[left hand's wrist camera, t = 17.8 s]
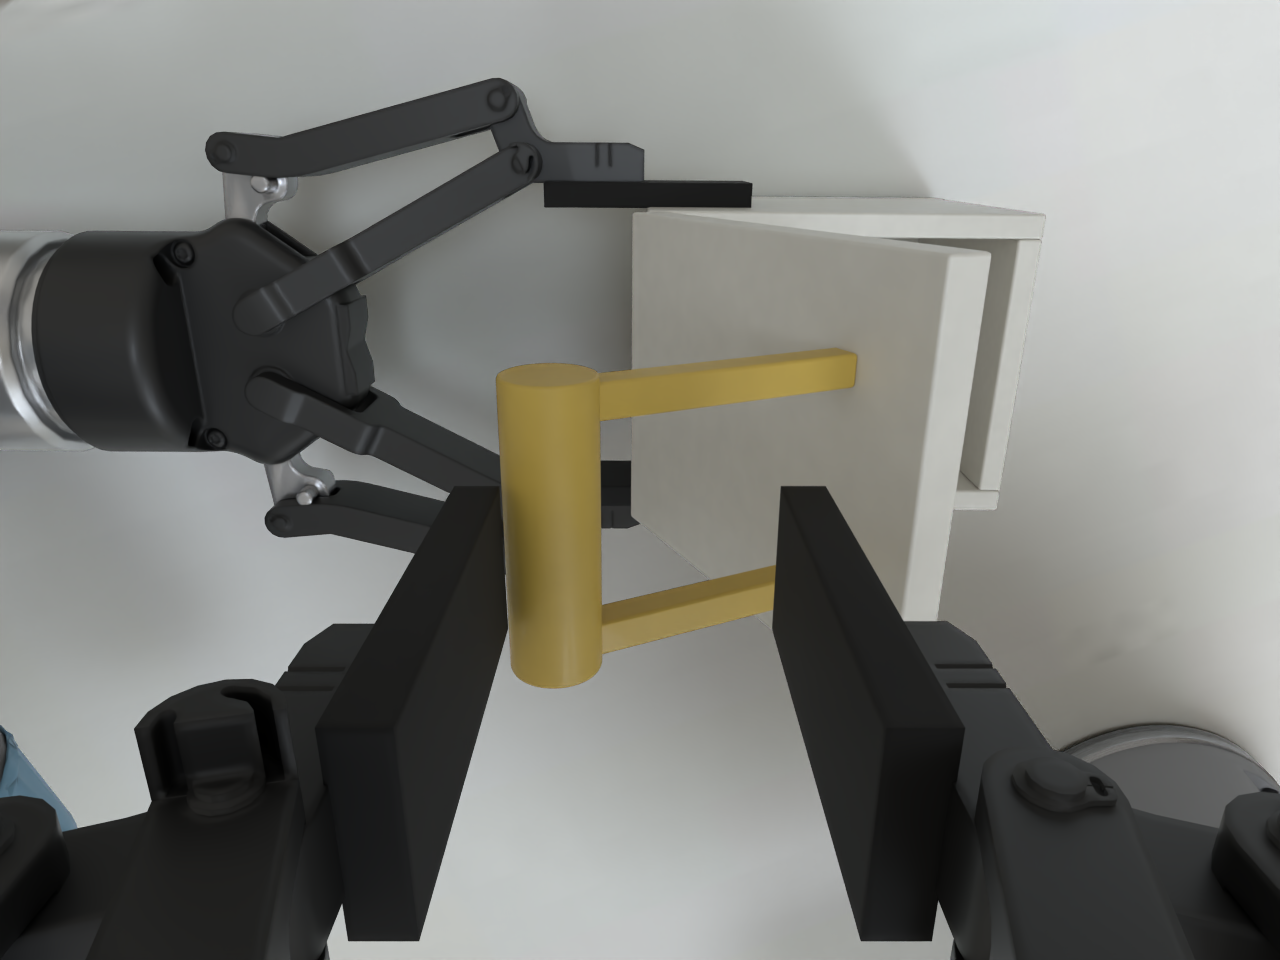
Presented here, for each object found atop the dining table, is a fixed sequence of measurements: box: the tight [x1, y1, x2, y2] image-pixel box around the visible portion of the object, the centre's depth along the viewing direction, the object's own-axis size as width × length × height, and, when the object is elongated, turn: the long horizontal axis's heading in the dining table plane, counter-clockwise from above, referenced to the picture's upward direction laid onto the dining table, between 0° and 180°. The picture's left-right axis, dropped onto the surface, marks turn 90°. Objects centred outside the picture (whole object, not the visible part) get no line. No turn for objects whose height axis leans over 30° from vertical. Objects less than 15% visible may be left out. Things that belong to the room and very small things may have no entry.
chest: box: [647, 196, 1046, 510], centre depth 32 cm, size 12×10×10 cm
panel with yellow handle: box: [496, 212, 991, 688], centre depth 20 cm, size 12×9×8 cm
